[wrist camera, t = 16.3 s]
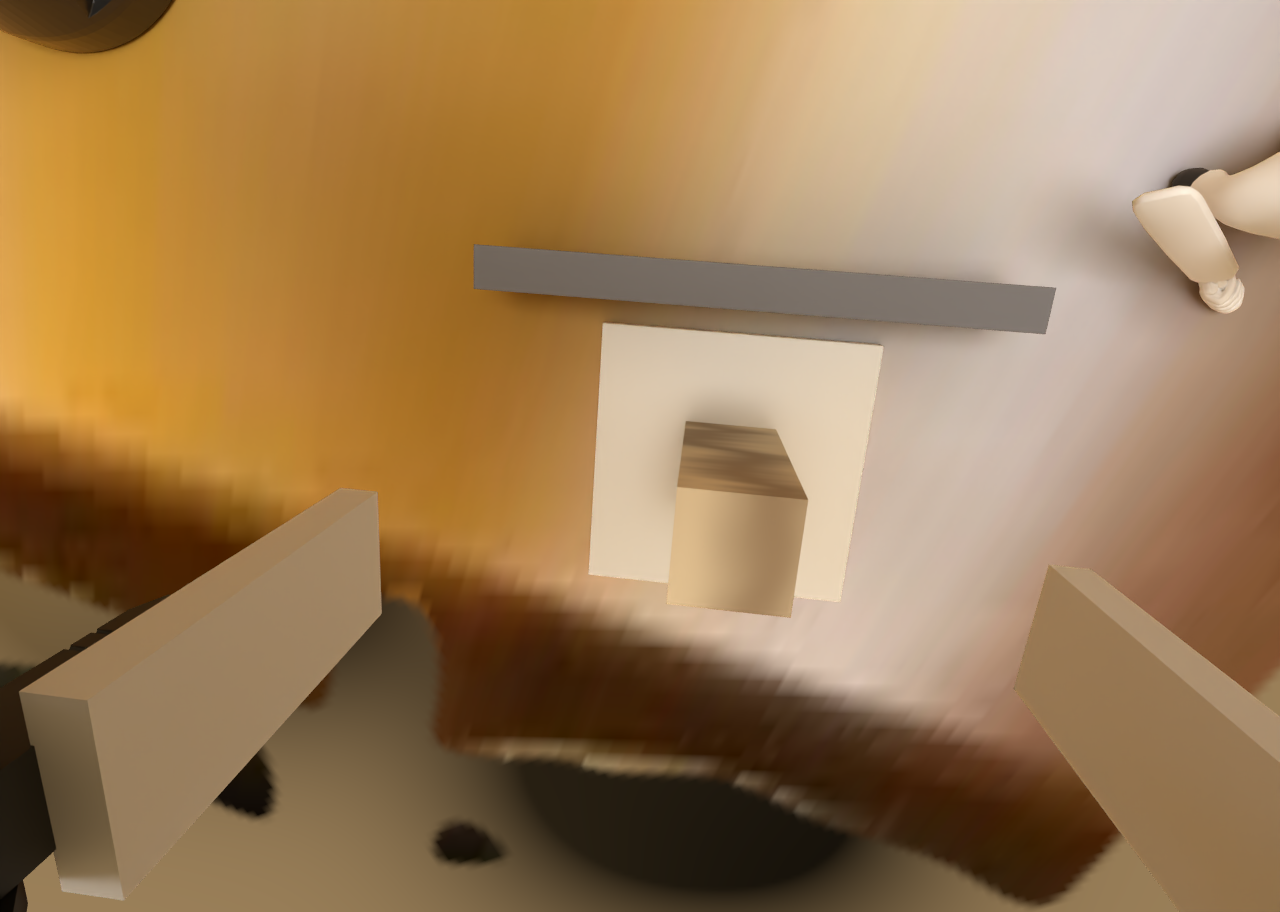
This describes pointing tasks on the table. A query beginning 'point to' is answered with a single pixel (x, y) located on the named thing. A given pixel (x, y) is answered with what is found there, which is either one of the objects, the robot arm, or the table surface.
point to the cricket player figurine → (1212, 223)
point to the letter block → (736, 521)
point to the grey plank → (765, 288)
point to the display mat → (731, 395)
